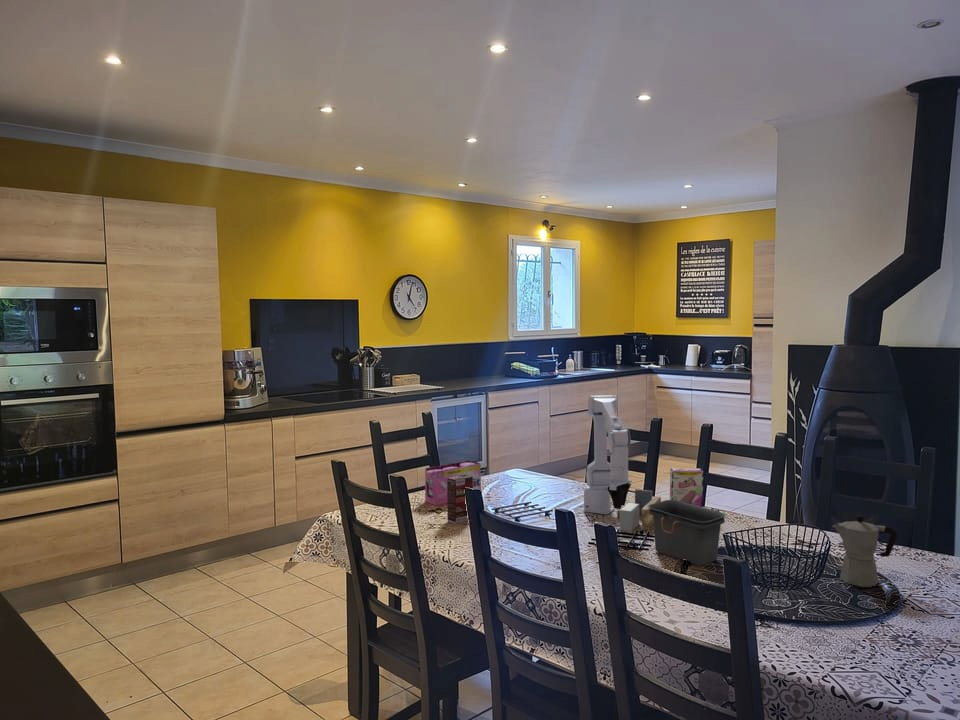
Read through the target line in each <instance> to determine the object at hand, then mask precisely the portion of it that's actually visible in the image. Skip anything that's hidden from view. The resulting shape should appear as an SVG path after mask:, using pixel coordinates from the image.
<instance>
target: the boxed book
mask: <svg viewBox="0 0 960 720" xmlns="http://www.w3.org/2000/svg"><path fill="white" fill-rule="evenodd" d="M638 524H640V515H639V504H635V502H627V503H625V505H624V506H623V508H621V509H620V519H619V531H622V530H623V531H624V532H629V531H631V532H632V531H633V530H635V529H636V528H637V527H638V526H639V525H638ZM637 525H638V526H637ZM636 526H637V527H636ZM635 527H636V528H635ZM634 528H635V529H634ZM623 531H622V532H623Z"/></svg>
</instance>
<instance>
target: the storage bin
mask: <svg viewBox="0 0 960 720" xmlns="http://www.w3.org/2000/svg"><path fill="white" fill-rule="evenodd" d="M648 507H649V508H650V510H649V513H650V514H651V515H653V522H654V524H653V531H654V532H653V533H654V535H653V536H654V546H655V551H656V552H657V553H661V554H664V555H666V556H670V557H673V558H675V559H678V560H681V559H687V560H688V561H690V562H691V563H690V564H692V565H694V566H697V567H700V566H705V565H707V564H710V563H713V562H715V561H717V559H718V552H719V542H720V533H721V527H722V526H721V525H724V524H725V522H726V521H725V517H726V516H727V514H725V513H724V512H721V511H716V510H713V509H710V508H707V507H704V506H703V507H700V506H696V505H692V504H689V503H685V502H681V501H677V500H670V499H667V500H663V501H662V500H661V502H658V503H654V504H650V505H649V506H648Z"/></svg>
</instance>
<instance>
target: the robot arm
mask: <svg viewBox="0 0 960 720" xmlns="http://www.w3.org/2000/svg"><path fill="white" fill-rule="evenodd" d="M587 399H588V400H587V412H588V416H589V417H590V418H593V434H594V435H593V443H594V444H593V445H594V446H593V449H594V452H593V455H594V458H593V461H592V462H591V463H589V464H587V467H586V475H585V478H586V484H587V485H586V486H585V488H584V491H583V513H591V514H592V513H593V514H601V515H609V514H610V513H612V511H613V512H614V510H615V509H616V510H619V509H621V507H622V506H623V507H624V506H625V505H626V501H627V497H628V493H629V491H630V488H631V486H632V484H631V483H632V482H633V481H632V479H630V478H629V447H630V446H631V443H632V442H631V440H632V439H631V433H630V430H629V429H628V428H626V427H624V424H623V421H622V420H621V417H619V416H617V414H616V413H617V411H618V408H619V407H618V406H619V402H618V401H619V400H618V397H617V396H616V395H615V394H609V395H593V394H592V395H590V396H589V397H588V398H587ZM608 451H609V453H610V462H608ZM611 501H612V502H611ZM611 503H612V504H611ZM611 506H613V507H611Z"/></svg>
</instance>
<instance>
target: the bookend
mask: <svg viewBox="0 0 960 720" xmlns="http://www.w3.org/2000/svg"><path fill="white" fill-rule="evenodd" d="M652 499H653V490H647V489H639V488H637V489H636V488H635V489H634V504H639V514H642V508H643V507H644V506H646V505H647V504H648V503H649V502H650V501H651V500H652Z"/></svg>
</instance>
